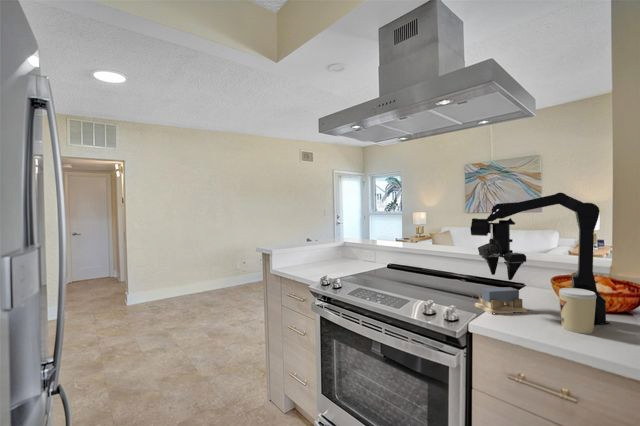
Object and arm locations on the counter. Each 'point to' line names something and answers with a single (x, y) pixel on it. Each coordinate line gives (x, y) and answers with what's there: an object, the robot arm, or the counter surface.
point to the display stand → (501, 306)
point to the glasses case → (500, 294)
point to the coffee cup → (577, 309)
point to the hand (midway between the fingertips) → (501, 277)
